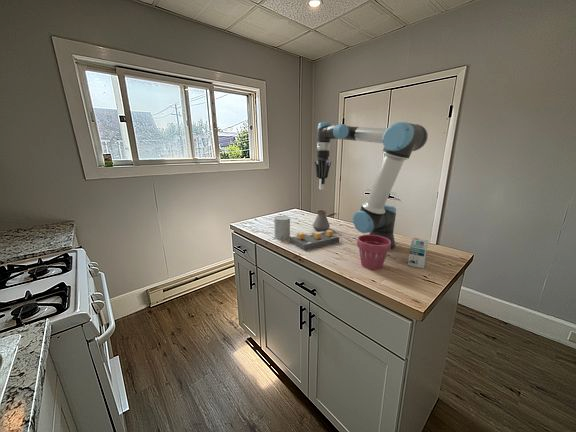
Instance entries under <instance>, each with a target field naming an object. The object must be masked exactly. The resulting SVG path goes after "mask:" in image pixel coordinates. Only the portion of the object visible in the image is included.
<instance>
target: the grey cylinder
mask: <svg viewBox="0 0 576 432" xmlns="http://www.w3.org/2000/svg"><path fill="white" fill-rule="evenodd" d="M273 218H274V224H273V225H274V227H273V228H274V239H275V240H278V241H279V240H280V241H285V240H290V237H291V217H290V216H286V215H276V216H274V217H273Z"/></svg>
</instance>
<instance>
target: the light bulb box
mask: <svg viewBox="0 0 576 432" xmlns="http://www.w3.org/2000/svg"><path fill="white" fill-rule="evenodd" d="M428 242H429V240H428V239H423V238H418V237H412V239H411V241H410V248H409V255H408V261H407V262H408V263H407V266H411V267H415V268H419V269H424V268H425V266H426V265H425V264H426V259H427V252H428V244H429V243H428Z"/></svg>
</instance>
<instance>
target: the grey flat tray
mask: <svg viewBox="0 0 576 432" xmlns="http://www.w3.org/2000/svg"><path fill="white" fill-rule="evenodd" d="M326 231H327V230H326ZM326 231H318V232H319V233H321V238H319V239H316V238H314V233H315V232H311V233H307V234H306V233H304V234H305V238H304V239H299V238H297V235H296V236H290V238H289V243H291V244H292V245H294V246H295V247H298V248H299V249H301V250H302V251H308V250H312V249H315V248H316V249H317V248H321V247H325V246H329V245H332V244H337V243H340V237H339V236H338V235H335V234H333V236H330V237H328V236H326V235H325V234H326Z"/></svg>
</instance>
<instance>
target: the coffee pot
mask: <svg viewBox="0 0 576 432" xmlns="http://www.w3.org/2000/svg"><path fill="white" fill-rule="evenodd" d="M316 212H317V214H316V217H315V220H314V222H313V224H312V227H313V229H314V230H315V231H316V232H320V231H327V230H330V223H329V221H328V217H332V216H336V217H338V215H339V214H337V213H336V212H334V213H330V214H328V215H327V212H328V211H326V210H324V209H323V210H321V209H319V210H317V211H316Z"/></svg>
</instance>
